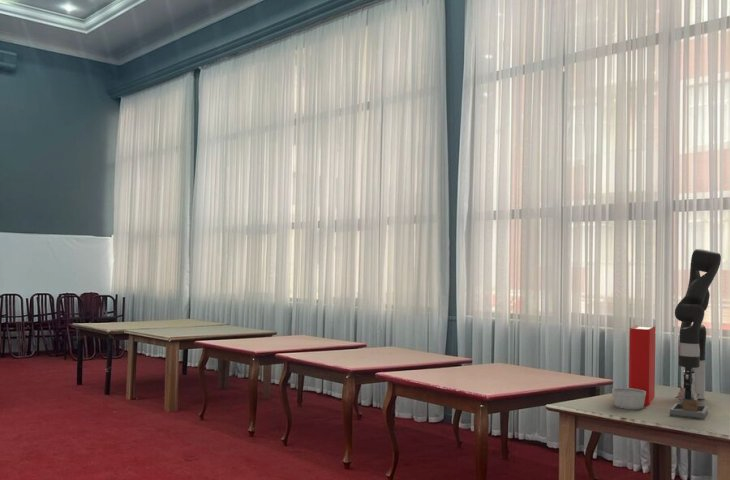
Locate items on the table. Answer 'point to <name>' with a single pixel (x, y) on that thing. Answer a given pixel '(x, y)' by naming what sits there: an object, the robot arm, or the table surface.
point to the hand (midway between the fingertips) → (688, 398)
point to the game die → (680, 395)
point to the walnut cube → (690, 405)
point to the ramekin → (628, 398)
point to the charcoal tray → (688, 412)
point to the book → (642, 361)
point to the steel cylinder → (691, 392)
